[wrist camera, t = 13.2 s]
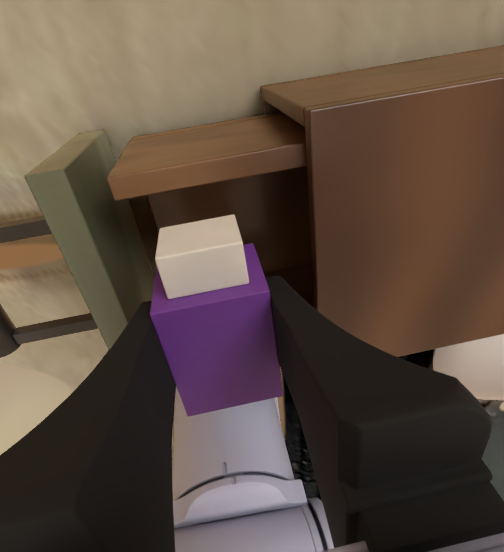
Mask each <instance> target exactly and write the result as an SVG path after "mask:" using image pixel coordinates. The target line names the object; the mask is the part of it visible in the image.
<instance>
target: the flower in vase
mask: <svg viewBox="0 0 504 552" xmlns="http://www.w3.org/2000/svg"><path fill="white" fill-rule="evenodd" d="M433 370H434V371H437V372H440V373H443V374H446V375H449V376H453V377H456V378H457V379H458V380H459V381H460V382H461V383H462V384H463V385H464V386H465V387H466V388H467V389H468V390H469V391H470V392H471V393H472V394H473V396H474V397H475V398H477V399H485V400H504V334H502V335H497V336H492V337H488V338H483V339H478V340H474V341H469V342H464V343H460V344H455V345H450V346H446V347H441V348H436V349H434V353H433Z"/></svg>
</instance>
